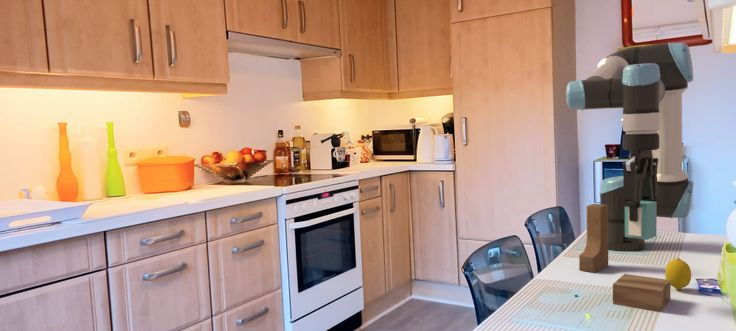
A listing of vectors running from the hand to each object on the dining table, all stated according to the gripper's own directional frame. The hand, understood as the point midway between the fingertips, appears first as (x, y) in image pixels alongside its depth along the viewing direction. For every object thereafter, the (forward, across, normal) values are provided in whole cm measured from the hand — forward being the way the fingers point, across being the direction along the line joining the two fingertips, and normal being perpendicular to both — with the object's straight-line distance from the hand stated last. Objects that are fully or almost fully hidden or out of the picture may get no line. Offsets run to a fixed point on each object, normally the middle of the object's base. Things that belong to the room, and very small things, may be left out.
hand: (640, 233), depth 125 cm
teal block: (+1, 0, 0) cm, 1 cm away
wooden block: (+16, -19, -21) cm, 33 cm away
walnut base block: (+16, 0, 0) cm, 16 cm away
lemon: (+16, -14, +3) cm, 22 cm away
